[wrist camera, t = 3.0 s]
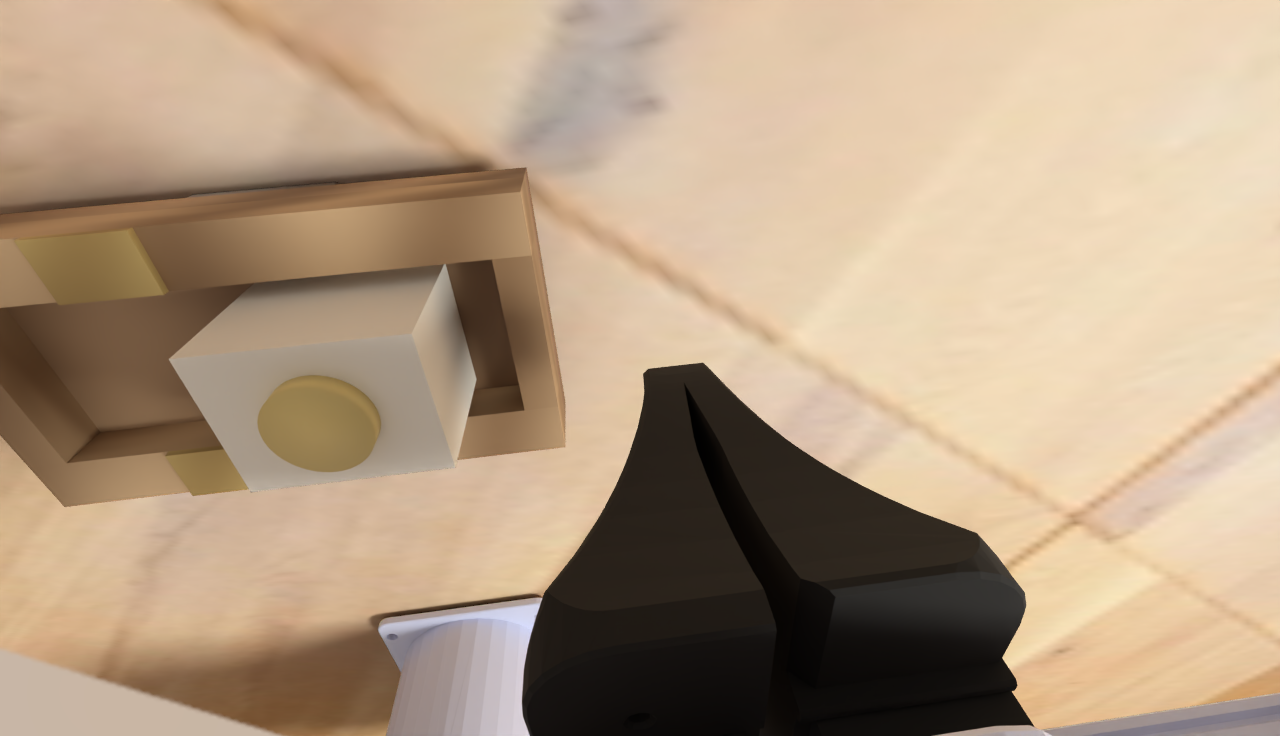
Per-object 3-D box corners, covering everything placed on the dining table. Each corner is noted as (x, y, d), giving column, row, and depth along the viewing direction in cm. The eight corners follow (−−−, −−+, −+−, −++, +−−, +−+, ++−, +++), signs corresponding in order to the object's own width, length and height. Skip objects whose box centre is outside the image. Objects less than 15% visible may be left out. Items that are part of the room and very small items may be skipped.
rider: (445, 262, 15) (406, 345, 12) (476, 379, 17) (452, 481, 14) (256, 280, 15) (153, 372, 11) (312, 397, 17) (240, 507, 13)
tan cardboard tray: (528, 157, 16) (519, 193, 13) (565, 382, 21) (565, 451, 17) (-19, 205, 15) (-172, 258, 12) (140, 430, 20) (59, 511, 17)
